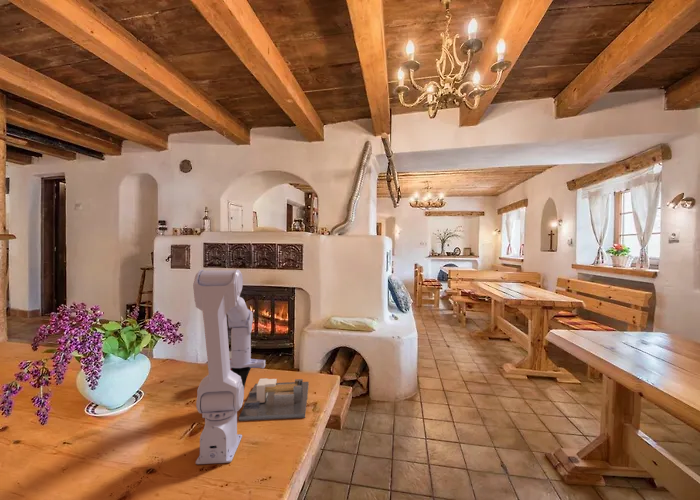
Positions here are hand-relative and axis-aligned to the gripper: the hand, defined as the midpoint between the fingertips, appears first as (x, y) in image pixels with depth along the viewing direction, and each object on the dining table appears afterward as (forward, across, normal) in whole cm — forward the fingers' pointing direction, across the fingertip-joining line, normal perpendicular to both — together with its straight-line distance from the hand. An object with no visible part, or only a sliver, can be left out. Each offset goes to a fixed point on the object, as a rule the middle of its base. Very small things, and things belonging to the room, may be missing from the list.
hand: (241, 390), depth 92 cm
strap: (0, -13, 0) cm, 13 cm away
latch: (+3, -8, 0) cm, 8 cm away
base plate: (+4, -11, -1) cm, 12 cm away
